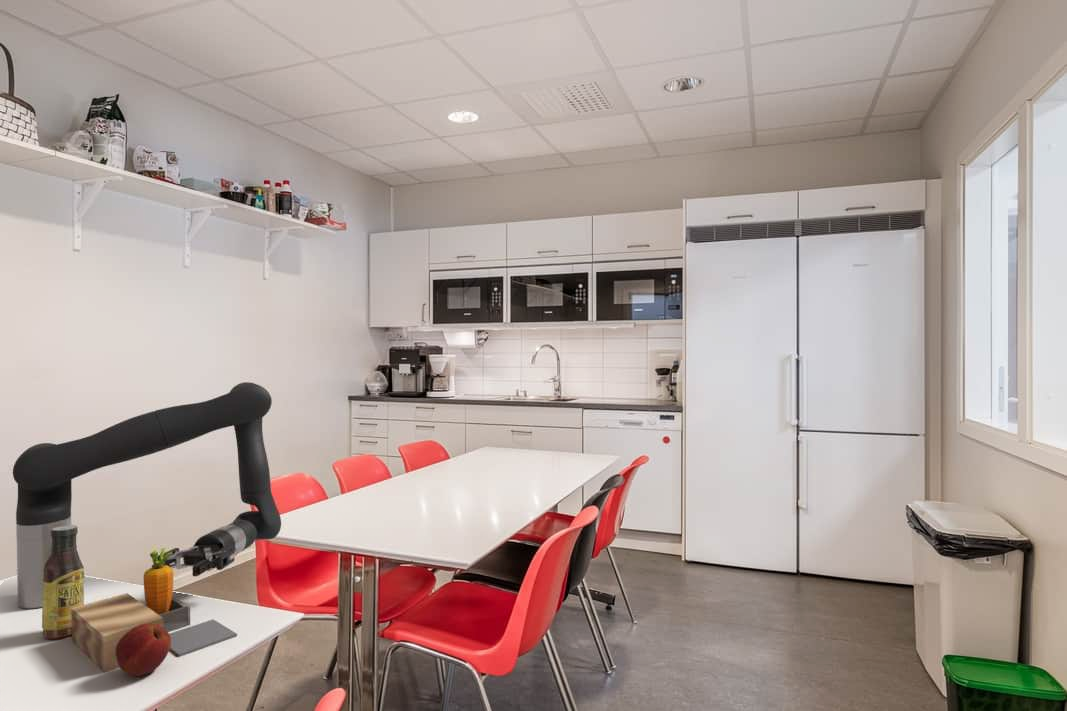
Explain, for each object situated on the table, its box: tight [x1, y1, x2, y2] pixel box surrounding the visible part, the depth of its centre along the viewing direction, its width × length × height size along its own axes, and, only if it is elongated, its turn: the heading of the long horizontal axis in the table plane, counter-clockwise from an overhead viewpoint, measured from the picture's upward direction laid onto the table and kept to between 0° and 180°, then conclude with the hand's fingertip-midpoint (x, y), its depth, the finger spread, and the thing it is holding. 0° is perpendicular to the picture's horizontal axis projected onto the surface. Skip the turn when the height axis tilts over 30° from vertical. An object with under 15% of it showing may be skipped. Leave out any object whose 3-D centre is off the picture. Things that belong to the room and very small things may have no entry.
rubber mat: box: [169, 618, 238, 657], centre depth 115 cm, size 10×10×1 cm
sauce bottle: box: [41, 524, 85, 640], centre depth 118 cm, size 7×6×20 cm
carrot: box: [143, 547, 174, 615], centre depth 120 cm, size 5×5×15 cm
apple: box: [115, 623, 171, 677], centre depth 103 cm, size 7×8×8 cm
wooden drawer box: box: [71, 592, 191, 673], centre depth 115 cm, size 18×16×6 cm
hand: (173, 571), depth 125 cm, fingers open, 8 cm apart
